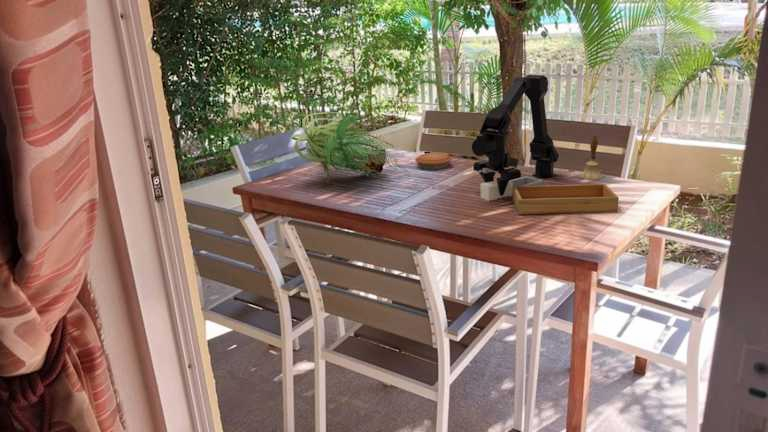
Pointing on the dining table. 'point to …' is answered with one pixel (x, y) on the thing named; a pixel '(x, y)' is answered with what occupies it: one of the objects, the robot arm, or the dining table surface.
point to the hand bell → (592, 163)
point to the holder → (526, 181)
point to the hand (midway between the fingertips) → (496, 193)
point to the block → (495, 190)
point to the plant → (344, 147)
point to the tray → (564, 199)
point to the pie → (433, 161)
